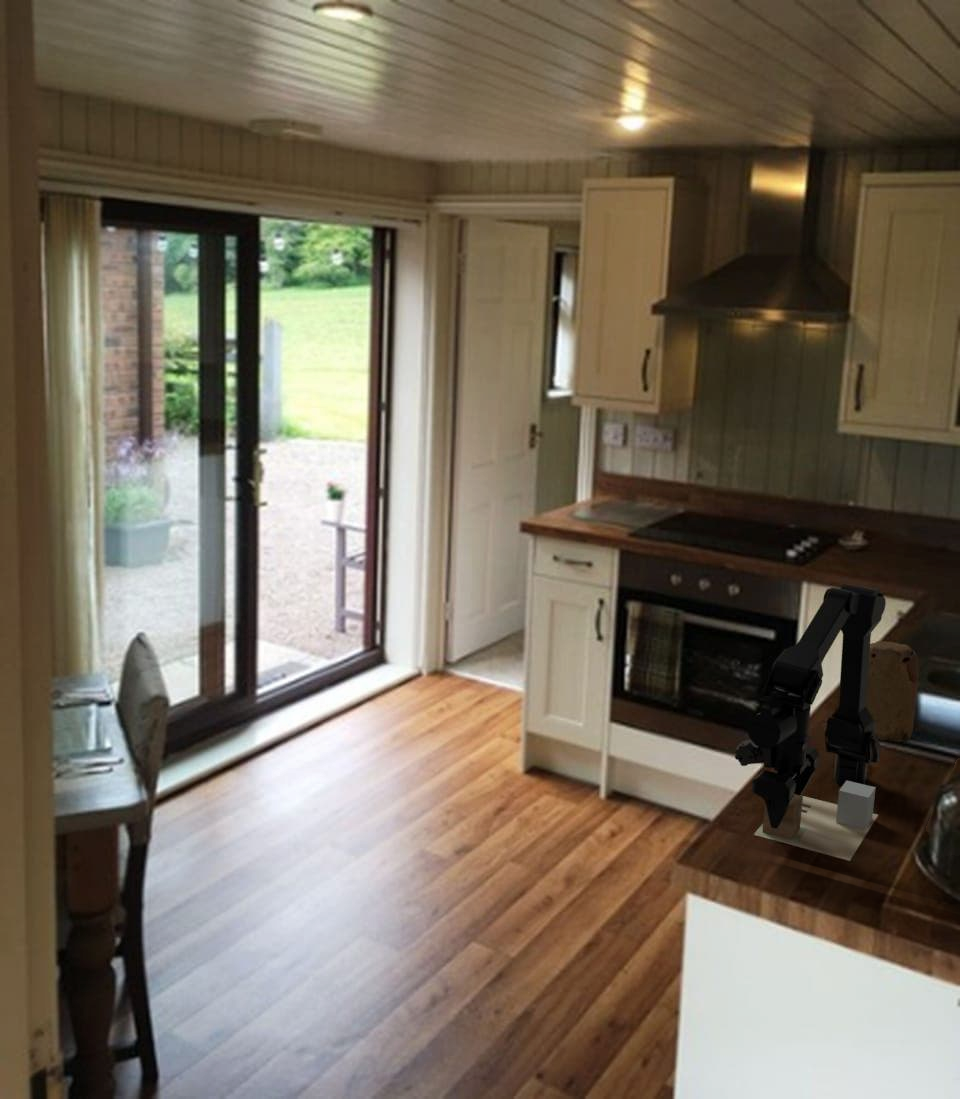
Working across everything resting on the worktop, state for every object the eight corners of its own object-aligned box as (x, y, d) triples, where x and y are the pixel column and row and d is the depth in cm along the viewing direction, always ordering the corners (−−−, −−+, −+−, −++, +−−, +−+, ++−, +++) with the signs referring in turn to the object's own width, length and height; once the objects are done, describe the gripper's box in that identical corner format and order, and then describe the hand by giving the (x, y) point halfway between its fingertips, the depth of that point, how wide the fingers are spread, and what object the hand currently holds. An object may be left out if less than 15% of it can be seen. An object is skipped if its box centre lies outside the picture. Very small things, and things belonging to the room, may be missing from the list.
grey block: (843, 811, 201) (846, 780, 200) (872, 819, 199) (875, 787, 197) (835, 822, 197) (839, 790, 196) (865, 830, 195) (868, 797, 193)
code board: (788, 797, 209) (788, 792, 209) (877, 820, 201) (878, 814, 201) (753, 839, 192) (753, 834, 192) (849, 866, 184) (849, 860, 184)
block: (853, 734, 240) (863, 644, 236) (864, 724, 246) (874, 636, 242) (905, 747, 234) (916, 654, 229) (916, 736, 240) (926, 646, 235)
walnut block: (771, 821, 197) (774, 789, 196) (799, 828, 195) (803, 796, 193) (762, 832, 193) (765, 799, 191) (791, 840, 190) (794, 807, 189)
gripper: (761, 704, 201) (754, 786, 205) (724, 738, 186) (718, 825, 189) (824, 718, 196) (815, 801, 199) (792, 753, 180) (783, 843, 184)
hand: (782, 817), depth 193 cm, fingers open, 9 cm apart
